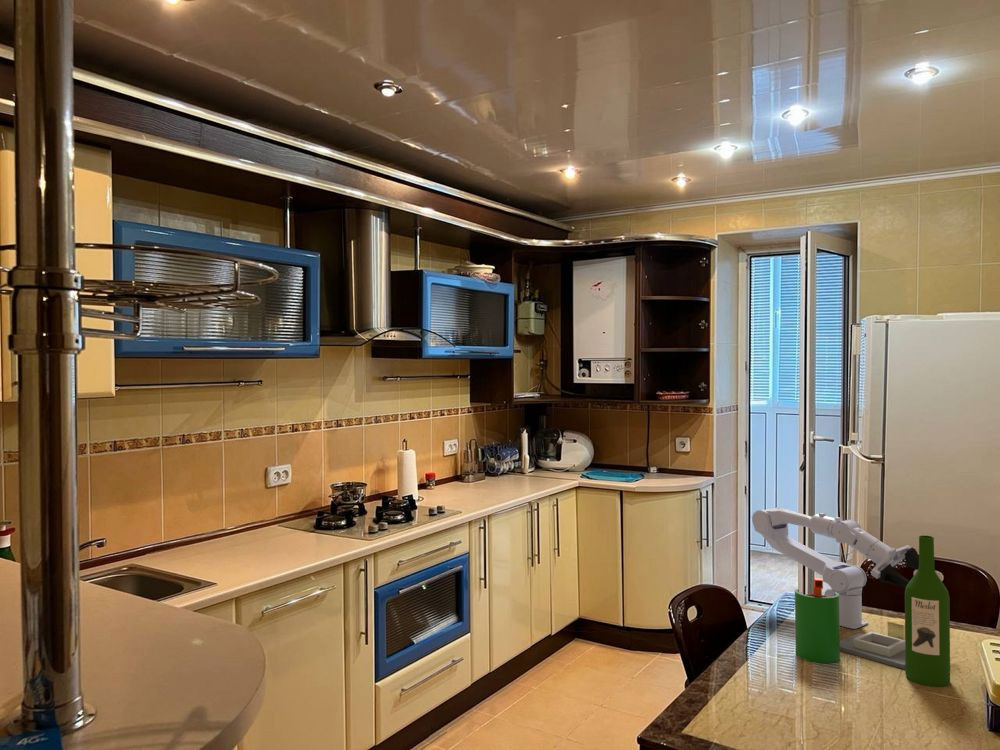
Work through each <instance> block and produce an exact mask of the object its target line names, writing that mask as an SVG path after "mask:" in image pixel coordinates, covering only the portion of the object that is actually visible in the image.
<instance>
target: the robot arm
mask: <svg viewBox="0 0 1000 750" xmlns="http://www.w3.org/2000/svg"><path fill="white" fill-rule="evenodd" d="M751 521H752V525H753V527H754V528H753V529H754V531H755V532H757V533H759V534H760V535H761V536H762V537H763V538H764V540H765V541H766V542H767V543H768V545H769V546H770V547H771V548H772V549H774V550H776V551H777V552H779V553H781V554H782V555H784V556H786V557H788V558H790V559H792V560H793V561H795V562H797V563H799V564H801V565H803V566H804V567H806V568H808V569H810V570H811V571H813V572H815V573H817V574H819V575H820V576H822V579H823V583H824V582H825V584H827V585H828V586H829V587H828V588H826V590H825V591H824V594H823V595H825V596H828V597H833V596H834V592H837V593H839V624H840V627H844V628H846V629H847V628H848V629H850V630H851V629H852V630H857V629H859V628H861V627H863V626H866V625H868V624H869V622H868V621H866V620H862V619H863V618H862V617H863V616H862V613H863V612H862V611H863V610H862V608H863V605H862V604H863V603H862V602H863V601H862V600H863V599H862V595H863V594H862V593H863V587H864V586H866V583H867V574H866V572H865V571H864V569H863V568H861V566H859V565H855V564H854V565H853V564H852V565H851V564H848V563H847V562H843V561H836V560H834V559H831V558H829V557H827V556H826V555H824V554H822V553H821V552H819V551H816V550H814V549H812V548H811V547H809V546H807V545H804V544H803V543H801V542H799V541H797V540H796V539H793V538H791V537H790V536H789V524H790V525H794V526H799V527H804V528H809V529H810V532H811V533H813V534H816V535H819V536H822V537H827V538H830V539H835V542H836V543H838V544H847V545H848V546H850V547H851V548H852V549H854V550H855V551H857V552H858V553H860V554H862V555H863V556H864V557H866V558H867V559H868V560H871V561H872V562H873V563H874V564H876V566H875V567H874V568H872V569H871V573H870V575H871V576H872V577H874V578H875V579H876V580H877V579H879V581H880V582H882V583H883V584H887V585H888V584H889V585H894V586H897V587H900V588H903V589H905V590H906V586H907V584H908V583H909V582H910V580H909V579H908V578H906V577H905V576H903V575H901V573H900V572H898V571H897V570H896V569H895V568H894V567H895V565H898V563H900V562H901V561H903V560H904V561H905V566H906V567H909V568H912V569H913V570H916V571H918V569H919V552H918V551H917V549H916V548H915V547H912V546H911V545H909V544H906V545H905V546H902V547H898V548H895V547H891V546H890V545H887V544H886V543H884V542H882V541H881V540H879V539H878V538H877V537H875V536H873V535H872V534H870V533H868V531H865V530H864V529H862V527H861V525H860V524H859V522H857V521H856V520H854V519H851V518H848V519H845V520H843V519H842V518H841V517H839V516H836V517H833V516H828V515H826V513H825V512H819V513H816V514H814V515H812V516H811V515H807V514H804V513H802V512H801V513H800V512H798V511H794V510H791V509H787V508H786V507H785V508H784V507H782V508H781V507H772V508H767V509H758V510H755V511H754V512H753V514H752V516H751Z"/></svg>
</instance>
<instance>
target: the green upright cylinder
mask: <svg viewBox="0 0 1000 750" xmlns="http://www.w3.org/2000/svg"><path fill="white" fill-rule="evenodd" d="M812 583H813V585H812V586H813V588H812V589H813V590H812V591H813V592H812V593H806V594H803V593H802V592H800V589H799V588H798V589H797V588H796V589H795V590H794V622H795V624H794V626H795V628H794V630H795V633H794V635H795V637H794V638H795V655H796V656H797V657H798V656H799V657H798V658H800V659H802V658H803V659H802V660H805V661H808V662H814V663H819V664H820V663H821V664H831V663H833V664H834V663H836V662H839V661H841V660H840V659H841V651H840V640H841V637H840V633H841V631H840V630H841V629H840V627H841V626H840V624H839V593H837V592H834V596H833V597H828V596H825V595H824V594H823V593H822V592H823V589H824V581H823V577H817V576H816V577H815V576H814V577H813V582H812Z"/></svg>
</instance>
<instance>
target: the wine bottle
mask: <svg viewBox="0 0 1000 750" xmlns="http://www.w3.org/2000/svg"><path fill="white" fill-rule="evenodd" d="M934 542H935V537H933V536H932V535H931V536H930V535H919V536H918V555H919V569H918V570H916V573H914V575H913V576H912V578H911V579H910V580H909V581H910V582H909V583H908V584H907V586H906V589H905V590H904V619H905V669H904V670H905V675H906V679H908V680H909V681H911V682H913V683H916V684H918V685H921V684H922V686H926V685H927V686H926V687H933V686H935V688H936V687H937V688H941V686H943V687H946V686H948V684H949V685H950V682H951V619H950V617H951V615H950V613H951V612H950V611H951V610H950V606H951V605H950V603H951V602H950V594H949V590H948V589H947V587H946V586H945V584H944V583H943V581H942V580H941V578H940V576H939V575H938V574H937V572H936V569H935V543H934Z"/></svg>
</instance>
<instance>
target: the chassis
mask: <svg viewBox="0 0 1000 750" xmlns="http://www.w3.org/2000/svg"><path fill="white" fill-rule="evenodd" d="M840 652H844V653H846V654H850V655H854V656H857V657H861V658H863V659H864V658H865V659H867V660H871V661H875V662H878V663H881V664H885V665H887V666H888V665H889V666H892V667H896V668H899V669H902V670H905V640H902V639H898V638H894V637H890V636H888V635H886V634H881V633H879V632H874V631H868V632H866V633H861V632H857V633H854V634H852V635H850V636H847V637H845V638H843V639H840Z"/></svg>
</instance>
